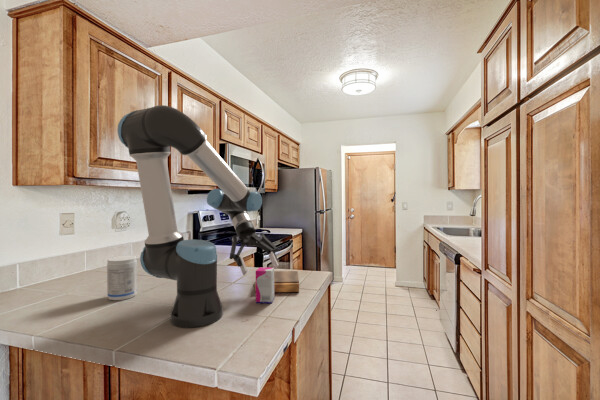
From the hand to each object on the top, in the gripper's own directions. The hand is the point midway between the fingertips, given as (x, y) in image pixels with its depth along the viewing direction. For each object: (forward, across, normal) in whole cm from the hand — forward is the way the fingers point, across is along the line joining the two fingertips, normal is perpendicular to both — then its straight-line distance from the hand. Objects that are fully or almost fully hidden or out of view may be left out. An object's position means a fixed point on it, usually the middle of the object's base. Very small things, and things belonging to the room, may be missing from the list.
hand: (261, 270), depth 107 cm
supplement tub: (-14, +42, -29) cm, 53 cm away
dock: (+3, -11, -11) cm, 16 cm away
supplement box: (+11, +2, -3) cm, 11 cm away
